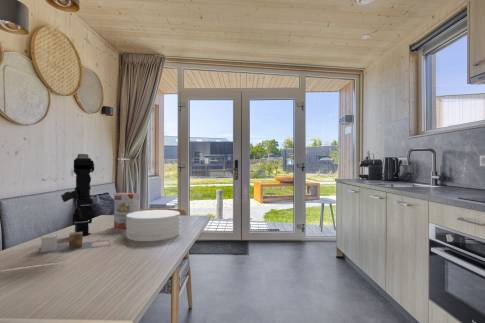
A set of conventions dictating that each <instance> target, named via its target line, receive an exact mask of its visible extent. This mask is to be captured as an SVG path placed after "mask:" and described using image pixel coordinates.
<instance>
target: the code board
mask: <svg viewBox="0 0 485 323" xmlns="http://www.w3.org/2000/svg"><path fill="white" fill-rule="evenodd" d="M110 242H111V241H110V239H104V240H94V241H87V242H82V247H80V248H71V249H69V243H68V244H61V245H60V244H59V245H58V244H57V248H56V250H55V251H47V252H41V247H39V248H38V250H37V251H36V253H35V256H38V255H40V256H41V255H46V254H54V253H55V254H56V253H64V252H71V251H79V250H80V251H81V250H87V249H88V250H89V249H97V248H103V247H104V248H105V247H111V243H110Z"/></svg>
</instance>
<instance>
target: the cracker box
mask: <svg viewBox="0 0 485 323" xmlns="http://www.w3.org/2000/svg"><path fill="white" fill-rule="evenodd" d="M113 208H114V209H113V213H114V214H113V216H114V217H113V227H114V228H120V229H127V228H126V225H127V223H126V220H127V218H126V215H127V214H129V213H133V212H138V211H140V193H135V192H134V193H132V192H131V193H130V192H115V193H114V203H113Z"/></svg>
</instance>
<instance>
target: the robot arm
mask: <svg viewBox="0 0 485 323" xmlns="http://www.w3.org/2000/svg"><path fill="white" fill-rule="evenodd" d="M94 172H95V162H94V160H92V158H91V157H89V154H87V153H79V154H77V157H76V158H74V160H73V173H74V174H75V187H74V190H72V191H71V190H70V191H66V192H64V193H61V195H60V197H61V198H62V201H63V203H66V202H68V201H70V200H73V204H75V206H76V207H75V208H74V213H72V226H74V232H83V235H82V237H84V236H88V235H91V232H89V230H90V229H89V224H92V223H93V214H92V213H91V212H92V211H91V212H90V210H91V208H92V207H93V204H94V200H93V199H92V198H91V190H92V189H91V181H92V177H91V173H94Z"/></svg>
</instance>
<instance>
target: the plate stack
mask: <svg viewBox="0 0 485 323" xmlns="http://www.w3.org/2000/svg"><path fill="white" fill-rule="evenodd" d="M180 215H181V213H180V211H178V210H172V209H149V210H148V209H147V210H139V211H138V212H133V213H129V214H127V215H126V218H127V220H126V223H127V225H126V228H125V229H126V230H125V238H126V239H128V240H130V241H136V242H155V241H164V240H168V239H172V238H175V237H178V236H179V235H180V234H179V233H181V231H180V229H181V226H180V224H181V222H180V220H181V218H180V217H181V216H180ZM177 235H178V236H177Z"/></svg>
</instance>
